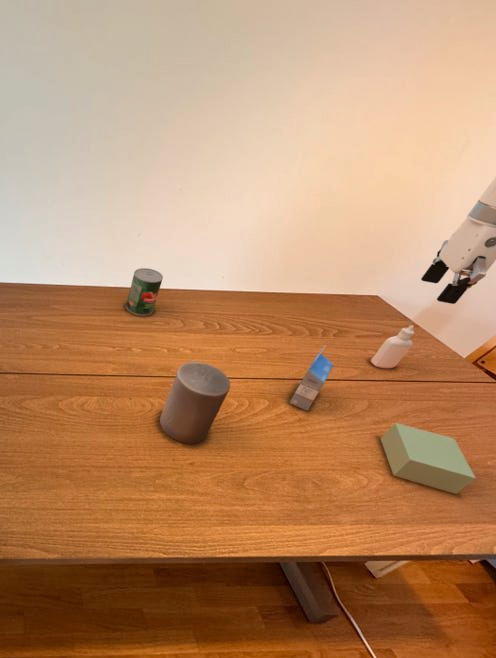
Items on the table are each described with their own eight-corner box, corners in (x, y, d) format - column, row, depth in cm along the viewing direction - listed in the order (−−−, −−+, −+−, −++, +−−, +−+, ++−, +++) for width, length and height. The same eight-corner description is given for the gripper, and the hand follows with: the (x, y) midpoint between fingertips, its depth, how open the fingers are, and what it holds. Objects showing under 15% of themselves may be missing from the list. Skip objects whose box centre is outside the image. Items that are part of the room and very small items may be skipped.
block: (437, 454, 85) (454, 438, 82) (456, 494, 78) (476, 478, 75) (380, 438, 88) (395, 422, 85) (393, 475, 81) (410, 459, 77)
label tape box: (306, 411, 93) (336, 369, 85) (287, 402, 95) (314, 360, 87) (316, 392, 98) (345, 351, 90) (298, 384, 100) (324, 343, 92)
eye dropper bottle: (396, 372, 105) (428, 334, 98) (370, 365, 107) (399, 326, 100) (393, 363, 108) (424, 324, 101) (368, 356, 110) (396, 318, 103)
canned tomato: (147, 319, 119) (157, 284, 112) (121, 309, 122) (129, 275, 115) (156, 307, 125) (166, 273, 118) (131, 298, 128) (140, 265, 121)
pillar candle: (215, 442, 85) (244, 388, 76) (171, 446, 84) (194, 392, 74) (192, 407, 92) (216, 354, 83) (151, 411, 91) (170, 357, 81)
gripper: (544, 234, 75) (474, 315, 86) (498, 204, 87) (442, 278, 98) (493, 226, 77) (430, 306, 88) (455, 198, 89) (404, 271, 100)
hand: (436, 291), depth 93 cm, fingers open, 9 cm apart
